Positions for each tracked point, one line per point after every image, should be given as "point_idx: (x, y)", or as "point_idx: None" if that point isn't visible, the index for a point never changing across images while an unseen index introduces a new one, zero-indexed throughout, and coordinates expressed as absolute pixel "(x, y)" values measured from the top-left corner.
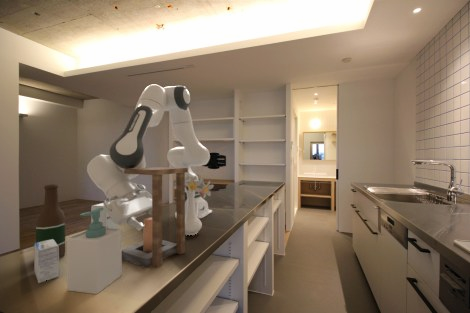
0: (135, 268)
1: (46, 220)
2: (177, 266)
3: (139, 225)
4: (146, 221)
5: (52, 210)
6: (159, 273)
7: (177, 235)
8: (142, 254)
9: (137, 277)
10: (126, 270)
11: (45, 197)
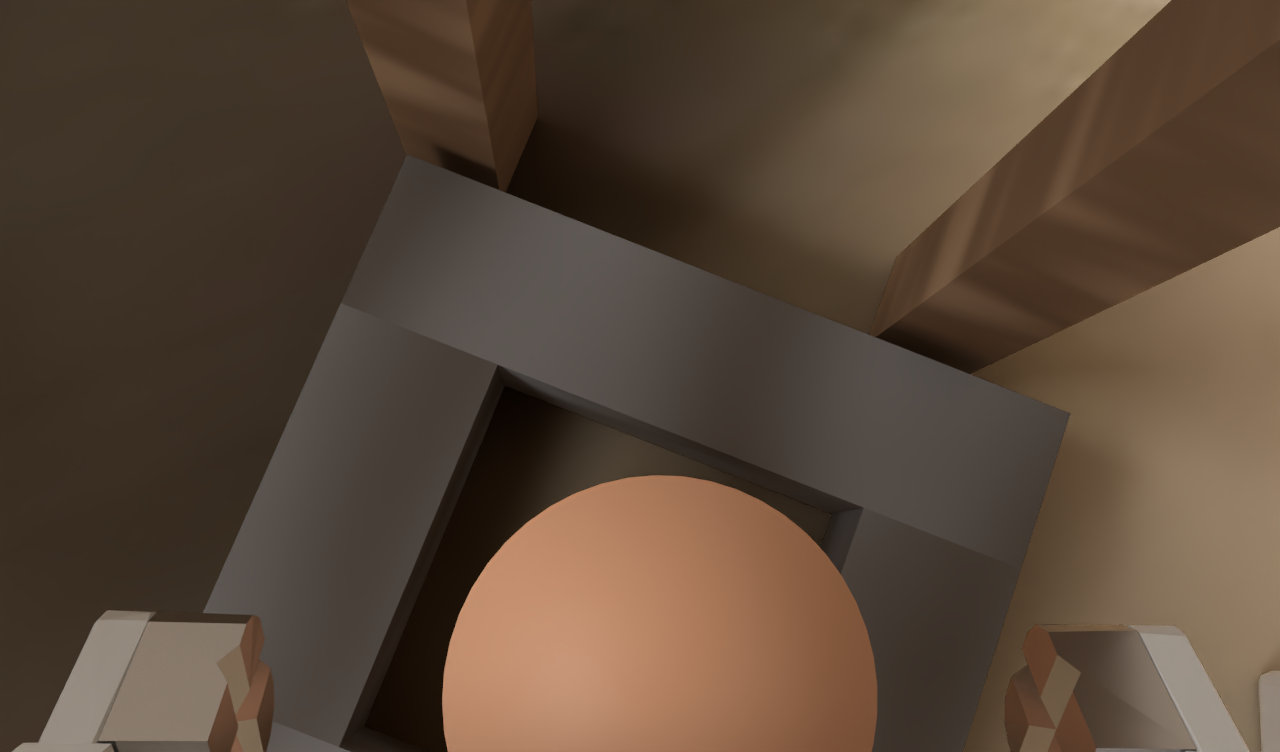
0: (1053, 594)
1: None
2: (898, 34)
3: (1212, 709)
4: (869, 682)
5: None
6: None
7: (490, 50)
8: (915, 595)
9: (1250, 426)
10: None
11: None
